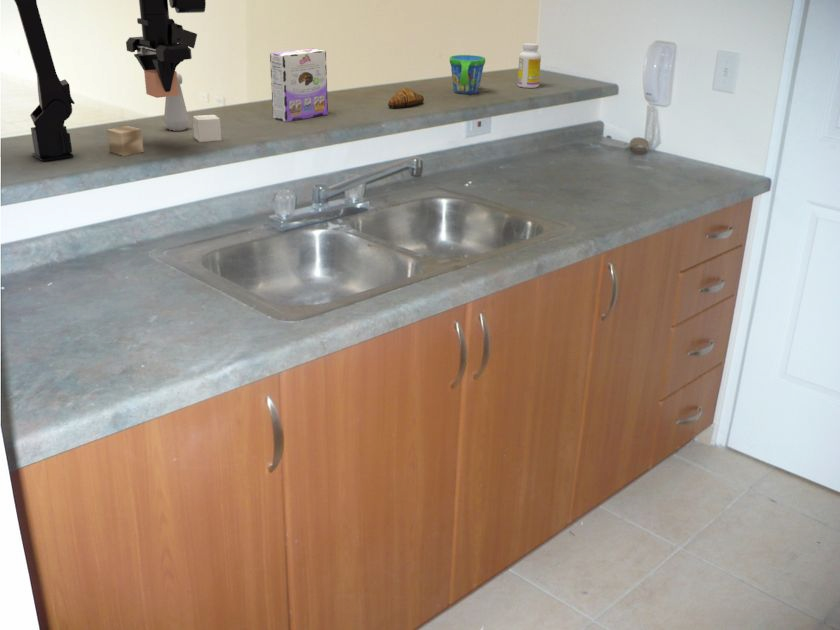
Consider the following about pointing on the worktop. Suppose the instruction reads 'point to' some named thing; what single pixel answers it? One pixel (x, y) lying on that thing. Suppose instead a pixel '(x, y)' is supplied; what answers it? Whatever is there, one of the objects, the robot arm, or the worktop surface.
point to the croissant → (405, 99)
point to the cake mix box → (299, 84)
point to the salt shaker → (176, 110)
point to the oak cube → (125, 140)
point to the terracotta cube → (159, 85)
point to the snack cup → (466, 73)
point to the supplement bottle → (529, 66)
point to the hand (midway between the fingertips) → (162, 89)
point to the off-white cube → (207, 128)
